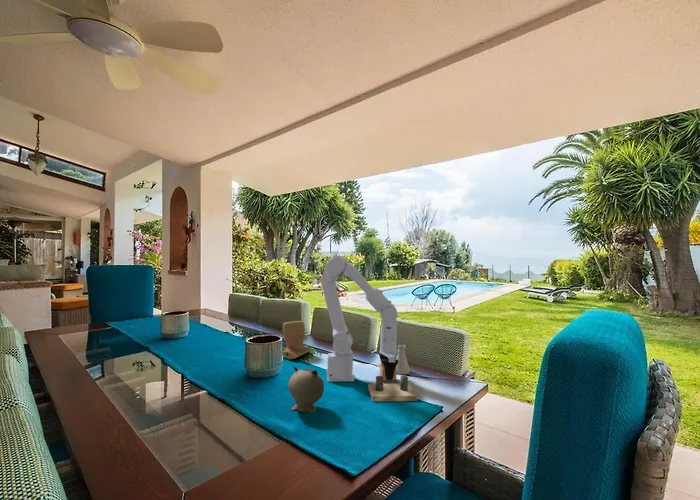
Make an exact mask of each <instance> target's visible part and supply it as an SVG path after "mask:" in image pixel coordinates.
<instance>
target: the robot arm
mask: <svg viewBox="0 0 700 500" xmlns="http://www.w3.org/2000/svg"><path fill="white" fill-rule="evenodd" d="M341 275H342V276H344V277H347V278H350V279H351V280H353V282H354V283H356V285H357V286H358V287H359V288H360V289H361V290H362V291H363V293H365V299H366V301H367V302H368V303H369V304H370V305H371V306H372V307H373V309H374V310H375V311H376V312H378V313H380V314H379V315H380V319H381V324H380V339H379V341H380V343H379V344H380V346H379V348H380V349H379V353H378V356H379V359H380V362H381V364H384V368H385V376H386V379H387V380H392V379H393V375H394V371H395V368H396V366H397V364H398V360H396V357H397V354H398V353H400V351H399V350H398V349H397V339H398V338H397V333H398V332H397V328H398V326H397V322H398V321H397V319H398V316H399V315H398V311H397V307H396V306H395V304H393V303H392V301H391V300H389V299H388V298H387V297H386V296H385V294H383V292H384V291H383V290H382V289H381V288H380V289H379V288H377V287H372V285H371V284H370V283H369V282H368V281H367V280H366V279H365V277H364V276H363V275H362V273H360V271H359V270H358V269H357V267H356V266H354V265H353V264H352V263H351V262H350V261H348V260H347V258H346V257H344V256H342V255H339V256H338V255H336V256H335V255H334V256H332V257H330V258H329V260H328V261H327V262H326V264H325V266H324V270H323V273H322V276H321V279H320V284H321V288H322V292H323V295H324V301H325V304H326V309H327V312H328V315H329V319H330V323H331V328H332V339H333V343H332V349H333V350H332V352H329V353H328V352H327V364H326V365H327V366H326V371H325V372H326V373H325V374H326V378H327V382H355V376H354V373H353V370H354V368H353V365H354V363H353V361H354V360H353V359H354V352H353V350H352V345H353V343H354V338H353V335H352V334H351V333H350V332H349V329H348V326H347V325H346V322H345V321H346V320H345V318H344V313H343V310H342V306H341V301H340V299H339V294H338V289H337V286H336V283H337V280H338V279H339V277H340V276H341Z"/></svg>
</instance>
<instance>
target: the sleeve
mask: <svg viewBox="0 0 700 500" xmlns="http://www.w3.org/2000/svg"><path fill="white" fill-rule="evenodd" d="M379 376H382V377H383V384H397V373H396V368H395V371H394V375H393V379H392V380H387V379H386V376H385V368H384V364H382V363H381V364H379Z"/></svg>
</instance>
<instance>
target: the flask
mask: <svg viewBox="0 0 700 500" xmlns="http://www.w3.org/2000/svg"><path fill="white" fill-rule="evenodd" d="M406 348H407V346H406V345H404V344H398V345H397V350H399V351H400V353H397V354H396V356H395V360H398V364H397V366H396V375H397V374H398V375H408V374H410V373H411V369H410V366H409V362H408V359H407V356H406Z"/></svg>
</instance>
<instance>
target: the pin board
mask: <svg viewBox="0 0 700 500" xmlns="http://www.w3.org/2000/svg"><path fill="white" fill-rule="evenodd" d="M399 380H400V382H399V383H383V377H382V376H380V375H377V376H375V383H368V384H367V390H368V392H369V396H370V398H371V401H372V402H408V401H409V402H412V401H414V402H415V401H417V402H418V394H417V393H416V391H415V389H414V388H413V387H412V385H411V384H410V383H409V377H408V376H407V375H401V376H400V378H399Z"/></svg>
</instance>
